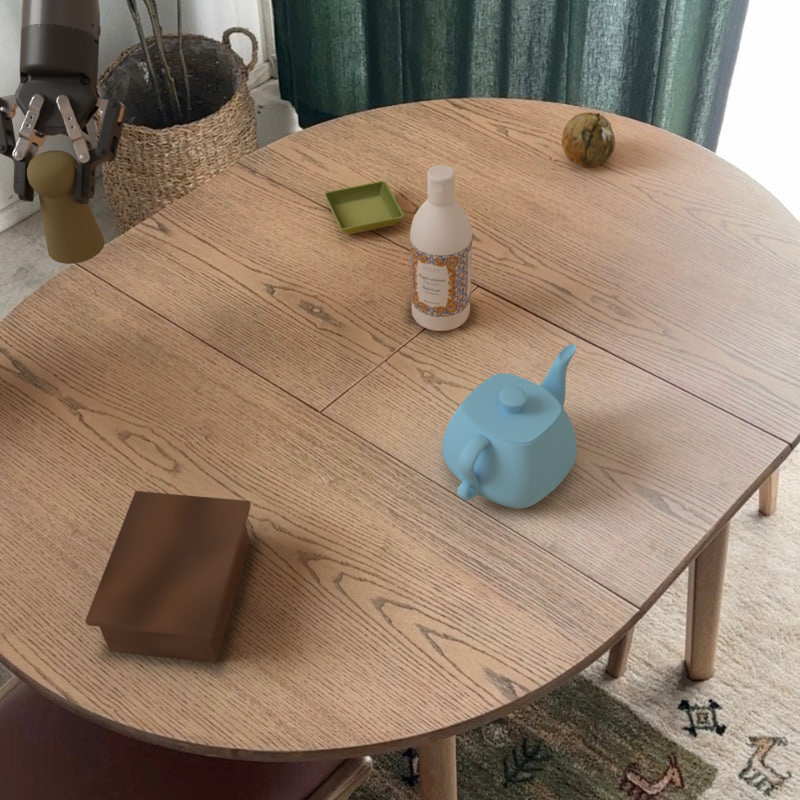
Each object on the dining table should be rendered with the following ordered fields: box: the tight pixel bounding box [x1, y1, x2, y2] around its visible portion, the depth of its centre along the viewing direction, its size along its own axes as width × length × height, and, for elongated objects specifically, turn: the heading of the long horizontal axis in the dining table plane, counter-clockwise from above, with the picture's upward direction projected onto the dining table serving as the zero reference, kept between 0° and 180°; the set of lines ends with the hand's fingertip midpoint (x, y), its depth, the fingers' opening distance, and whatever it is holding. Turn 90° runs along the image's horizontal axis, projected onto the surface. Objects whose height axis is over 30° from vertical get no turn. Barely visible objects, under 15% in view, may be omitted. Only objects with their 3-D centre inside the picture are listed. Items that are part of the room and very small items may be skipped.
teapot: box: [441, 343, 578, 509], centre depth 106 cm, size 13×11×18 cm
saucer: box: [323, 180, 405, 235], centre depth 139 cm, size 9×9×2 cm
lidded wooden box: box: [84, 490, 252, 663], centre depth 98 cm, size 11×14×6 cm
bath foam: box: [409, 164, 473, 332], centre depth 119 cm, size 7×7×20 cm
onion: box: [560, 111, 616, 169], centre depth 145 cm, size 8×8×8 cm
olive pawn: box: [27, 149, 106, 265], centre depth 110 cm, size 6×6×11 cm
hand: (53, 201), depth 107 cm, fingers closed on olive pawn, 5 cm apart
